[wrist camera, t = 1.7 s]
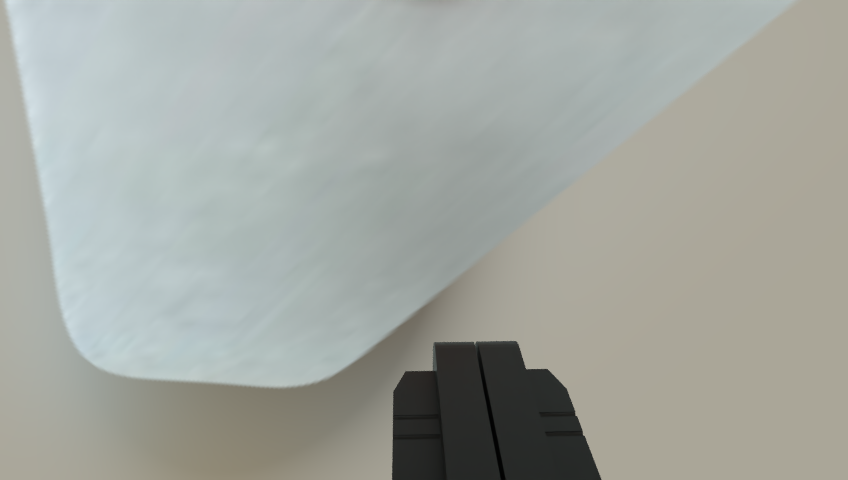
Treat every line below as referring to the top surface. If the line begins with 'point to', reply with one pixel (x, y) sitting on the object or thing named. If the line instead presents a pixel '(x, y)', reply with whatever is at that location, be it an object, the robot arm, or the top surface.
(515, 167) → the top surface
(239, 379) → the top surface
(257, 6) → the top surface
